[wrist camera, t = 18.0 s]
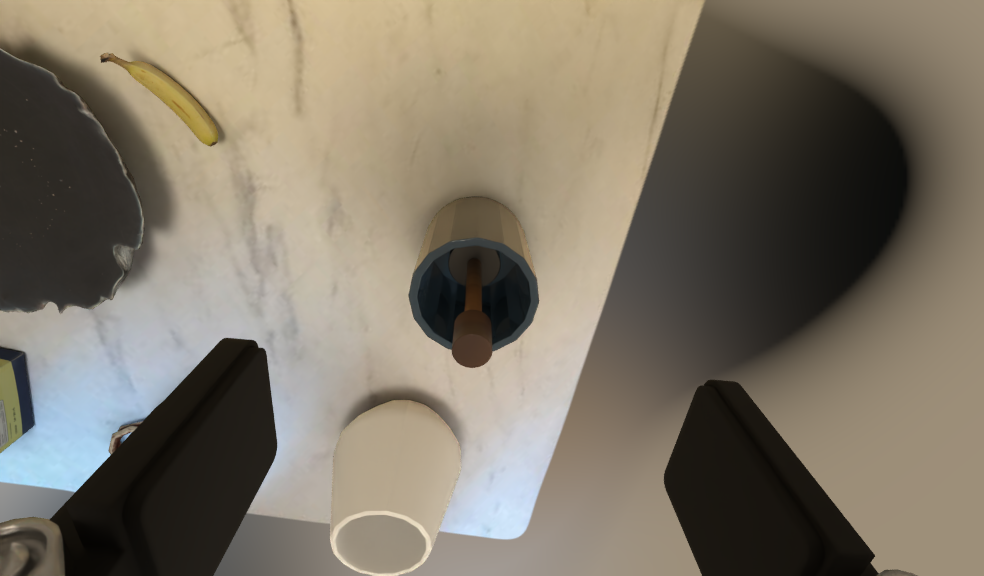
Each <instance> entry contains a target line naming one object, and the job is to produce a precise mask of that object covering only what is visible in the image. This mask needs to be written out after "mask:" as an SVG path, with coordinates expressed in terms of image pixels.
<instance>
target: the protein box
mask: <svg viewBox="0 0 984 576" xmlns="http://www.w3.org/2000/svg"><path fill="white" fill-rule="evenodd" d="M33 426H34V422H33V415H32V408H31V401H30V394H29V387H28V381H27V374H26V368H25V360H24V353H22V352H17V351H13V350H8V349H4V348H0V453H1V452H2V451H4V450H5V449H6V448H7V447H8V446H10V445H11V444H12V443H13V442H15V441H16V440H17V439H18V438H20V437H21V436H22V435H23V434H25V433H26V432H27V431H28V430H29V429H31V428H32V427H33Z"/></svg>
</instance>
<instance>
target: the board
mask: <svg viewBox="0 0 984 576" xmlns="http://www.w3.org/2000/svg"><path fill="white" fill-rule="evenodd" d="M143 233H144V216H143V211H142V205H141V200H140V197H139V195H138V193H137V189H136V186H135V183H134V179H133V177H132V175H131V173H130V172H129V170H128V168H127V167H126V165H125V163H124V162H123V159H122V158H121V156H120V154H119V151H118V150H117V149H116V148H115V146H114V145H113V144H112V142H111V141H110V140H109V138H108V135H107V134H106V132H105V131H104V129H103V127H102V125H101V124H100V123H99V122H98V120H97V119H96V117H95V115H94V114H93V112H92V111H91V109H90V108H89V107H88V105H87V103H86V102H85V101H84V100H83V99H82V97H80V96H79V95H78V94H77V93H75V92H73V91H71V90H69V89H68V88H66V87H65V86H64V85H63V84H62V82H61V81H60V80H59V78H58V77H57V76H55V75H54V74H53V73H52V72H50V71H48V70H47V69H45V68H42V67H40V66H38V65H34V64H33V63H29V62H26V61H23V60H20V59H18V58H16V57H14V56H12V55H11V54H9V53H7V52H5V51H4V50H2V49H1V48H0V310H1V311H3V312H25V313H30V312H34V311H37V310H41V309H43V308H44V307H45V306H46V304H47V303H48V302H54V303H55V304H56V305H57V306H58V310H59V312H60V314H62V312H63V311H64V310H65V309H66V308H67V307H72V306H79V307H82V308H87V309H94V308H95V307H97V306H98V305H100V304H101V303H102V302H104V301H105V300H107V299H110V300H112V299H113V298H114V295H115V293H116V290H117V288H118V286H119V285H120V284H121V282H122V281H123V280H124V279H125V278H126V277H127V275H128V273H129V271H130V269H131V266H132V261H133V253H134V249H135V250H137V249H140V245H141V244H142V239H143Z"/></svg>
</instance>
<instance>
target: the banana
mask: <svg viewBox="0 0 984 576" xmlns="http://www.w3.org/2000/svg"><path fill="white" fill-rule="evenodd" d="M100 57H101V63H102V62H107V61H111V62H114V63H116V64H118V65H120V66H122V67H123V68H125V69H126V70H127V71H128V72H129V73H130V75H131V76H132V77H133V78H135V79H136V80H137V81H138V82H139V83H141V84H142V85H143V86H145V87H146V88H147V89H149V90H150V91H151V92H153V93H154V94H155V95H156V96H157V97H159V98H160V99H161V100H162V101H163V102H164V103H165V104H166V105H168V106H169V107H170V108H171V109H172V110H173V111H174V112H175V113H176V114H177V115H178V116H179V117H180V118H181V119H182V120H183V121H184V122H185V123H186V124H187V126H188V127H189V128H190V129H191V130H192V132H193V133H194V134H195V135H196V137H197V138H198V139H199V140H200V141H201V142H202V143H204V144H206V145H208V146H212V145H215V144H216V143H217V142H218V132H217V129H216V127H215V125H214V123H213V122H212V120H211V119H210V117H209V116H208V115H207V113H206V112H205V111H204V110H203V108H202V107H201V106H200V105H199V104H198V103H197V101H196V100H195V99H194V98H193V97H192V96H191V95H190V94H189V93H187V92H186V91H185V90H184V89H183V88H182V87H181V86H180V85H179V84H177V83H176V82H175V81H174V80H172V79H171V78H170V77H168V76H167V75H166V74H164V73H163V72H161V71H160V70H158V69H157V68H155V67H153V66H151V65H149V64H147V63H145V62H141V61H133V62H127V61H125V60H122V59H120V58H118V57H116V56H115V55H114V54H113V53H112V54H108V53H104V54H103V55H101V56H100Z"/></svg>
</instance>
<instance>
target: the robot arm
mask: <svg viewBox="0 0 984 576" xmlns="http://www.w3.org/2000/svg"><path fill="white" fill-rule="evenodd" d="M276 451H277V438H276V430H275V422H274V413H273V405H272V397H271V389H270V380H269V372H268V364H267V355H266V351H265V349H263V348H258V344H257V343H256V341H254V340H245V339H233V338H224V339H222V340H221V341H220V342H219V343H218V344H217V345H216V346H215V347H214V348H213V349H212V350H211V352H210V353H209V354H208V355H207V356H206V357H205V358H204V359H203V360H202V361H201V362H200V363H199V364H198V365H197V366H196V367H195V368H194V370H193V371H192V372H191V373H190V374H189V375H188V376H187V377H186V378H185V379H184V380H183V381H182V382H181V383H180V384H179V385H178V386H177V388H176V389H175V390H174V391H173V392H172V393H171V394H170V395H169V396H168V397H167V398H166V399H165V400H164V401H163V402H162V403H161V404H159V405H158V406H157V407H156V408H155V409H154V410H153V411H152V412H151V413H150V414H149V415H148V417H147V418H146V419H145V420H144V421H143V422H142V423H141V424H140V425H139V426H138V427H137V428H136V429H135V430H134V431H133V432H132V433H131V434H130V435H129V437H128V438H127V439H126V440H125V441H124V442H123V443H122V444H121V445H120V446H119V447H118V448H117V449H116V450H115V451H114V452H113V453H112V454H111V456H110V457H109V458H108V459H107V460H106V461H105V462H104V463H103V464H102V465H101V466H100V467H99V468H98V469H97V470H96V471H95V472H94V473H93V474H92V476H91V477H90V478H89V479H88V480H87V481H86V482H85V483H84V484H83V485H82V486H81V487H80V488H79V489H78V490H77V491H76V492H75V493H74V495H73V496H72V497H71V498H70V499H69V500H68V501H67V502H66V503H65V504H64V505H63V506H62V507H61V508H60V509H59V510H58V511H57V513H56V514H55V515H54V516H53V517H52V518H51V519H50V520H49V519H44V518H37V517H28V518H20V519H13V520H9V521H6V522H2V523H0V576H213V575H214V573H215V571H216V569H217V567H218V566H219V564H220V562H221V560H222V558H223V556H224V554H225V552H226V550H227V549H228V547H229V545H230V543H231V541H232V539H233V537H234V535H235V533H236V531H237V530H238V528H239V526H240V524H241V522H242V520H243V518H244V516H245V514H246V512H247V511H248V509H249V507H250V505H251V503H252V501H253V499H254V497H255V495H256V494H257V492H258V490H259V488H260V486H261V484H262V482H263V480H264V478H265V476H266V475H267V473H268V471H269V469H270V467H271V465H272V463H273V461H274V459H275V456H276ZM664 484H665V488H666V491H667V493H668V496H669V498H670V500H671V503H672V505H673V508H674V510H675V512H676V515H677V517H678V520H679V522H680V524H681V527H682V529H683V531H684V534H685V536H686V538H687V541H688V543H689V546H690V548H691V550H692V553H693V555H694V557H695V560H696V562H697V564H698V567H699V569H700V572H701V574H702V576H917V575H915V574H912V573H908V572H904V571H901V570H884V571H883V572H881V573H878V572H877V571H876V570H875V568H874V567H873V566H872V564H871V563H870V562H871V561H872V559H873V558H874V557H875V555H874V554H873V552H872V551H871V550H870V549H869V547H868V546H867V545H866V543H865V542H864V541H863V540H862V538H861V537H860V536H859V535H858V533H857V532H856V531H855V530H854V528H853V527H852V526H851V524H850V523H849V522H848V521H847V519H846V518H845V517H844V516H843V514H842V513H841V512H840V511H839V509H838V508H837V507H836V506H835V504H834V503H833V502H832V500H831V499H830V498H829V497H828V495H827V494H826V493H825V492H824V490H823V489H822V488H821V486H820V485H819V484H818V483H817V481H816V480H815V479H814V478H813V476H812V475H811V474H810V473H809V471H808V470H807V469H806V467H805V466H804V465H803V464H802V462H801V461H800V460H799V459H798V458H797V456H796V455H795V453H794V452H793V451H792V450H791V448H790V447H789V446H788V445H787V443H786V442H785V441H784V440H783V438H782V437H781V436H780V434H779V433H778V432H777V431H776V430H775V428H774V427H773V426H772V425H771V423H770V422H769V421H768V419H767V418H766V417H765V415H764V414H763V413H762V412H761V410H760V409H759V408H758V407H757V405H756V404H755V403H754V402H753V400H752V399H751V398H750V397H749V395H748V394H747V393H746V391H745V390H744V389H743V388H742V386H741V385H740V384H739V383H737V382H733V381H721V380H708V381H707V382H706V383H705V384H704V386H699V387H698V388H697V390H696V392H695V395H694V397H693V400H692V402H691V405H690V408H689V410H688V413H687V416H686V418H685V421H684V423H683V426H682V428H681V431H680V434H679V436H678V439H677V442H676V444H675V447H674V449H673V452H672V454H671V457H670V460H669V463H668V465H667V468H666V470H665V474H664Z"/></svg>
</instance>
